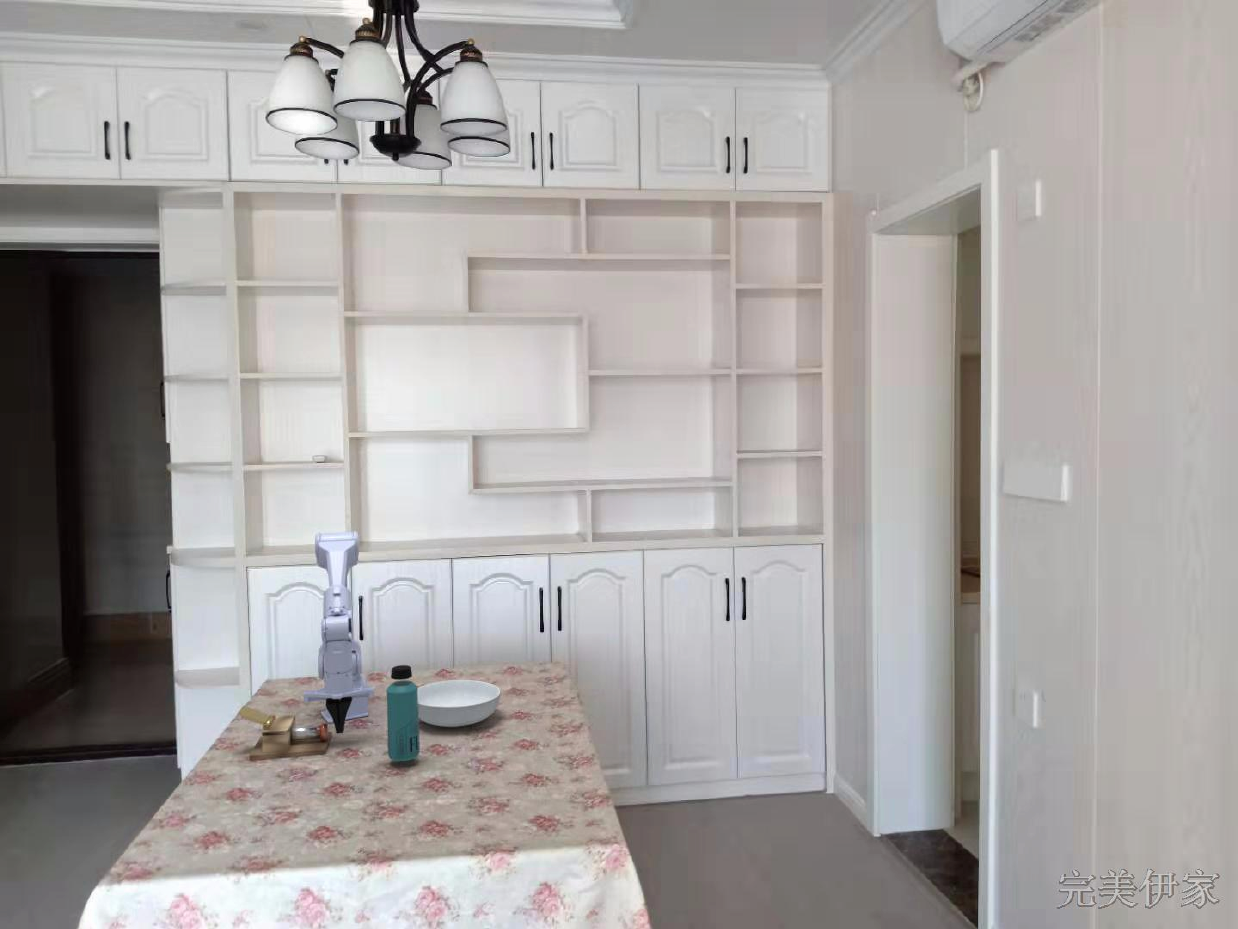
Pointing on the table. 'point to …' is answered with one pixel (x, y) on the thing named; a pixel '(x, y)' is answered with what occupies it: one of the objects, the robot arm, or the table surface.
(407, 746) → the beverage bottle
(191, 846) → the table surface
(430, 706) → the serving bowl
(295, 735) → the pin
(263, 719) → the brass hinge flap
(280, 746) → the hitch block
